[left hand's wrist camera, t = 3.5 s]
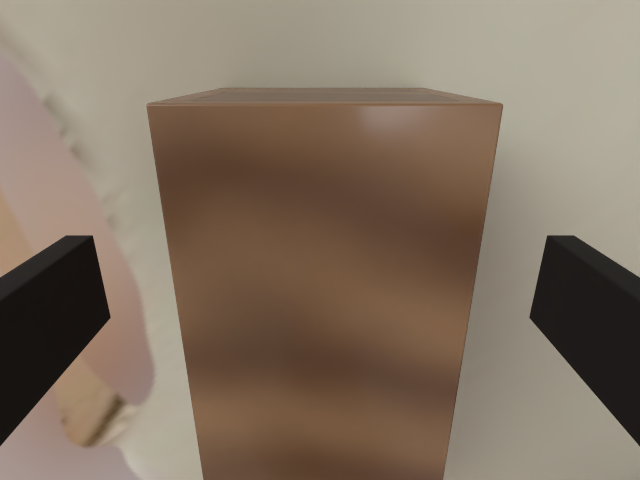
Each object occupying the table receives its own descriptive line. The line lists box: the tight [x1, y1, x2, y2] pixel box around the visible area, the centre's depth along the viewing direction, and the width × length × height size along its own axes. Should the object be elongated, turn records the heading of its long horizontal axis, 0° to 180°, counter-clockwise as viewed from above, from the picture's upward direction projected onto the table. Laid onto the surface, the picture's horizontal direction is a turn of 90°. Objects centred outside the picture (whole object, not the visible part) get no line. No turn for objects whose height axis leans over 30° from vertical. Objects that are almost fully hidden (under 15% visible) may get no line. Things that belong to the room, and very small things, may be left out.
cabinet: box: [147, 88, 503, 480], centre depth 23 cm, size 22×12×11 cm, turn 0°
